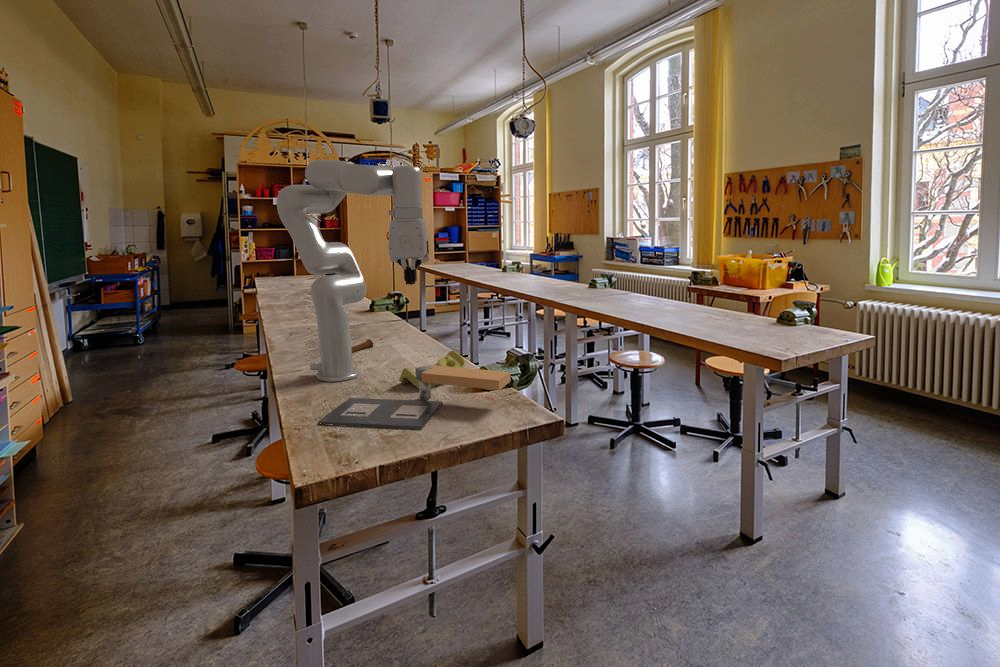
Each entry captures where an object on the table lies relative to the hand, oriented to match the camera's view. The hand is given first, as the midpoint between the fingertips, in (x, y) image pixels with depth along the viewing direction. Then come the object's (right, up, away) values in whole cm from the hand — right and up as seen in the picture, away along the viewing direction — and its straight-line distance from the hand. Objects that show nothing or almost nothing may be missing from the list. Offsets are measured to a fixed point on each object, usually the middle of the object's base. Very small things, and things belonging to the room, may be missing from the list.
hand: (410, 283), depth 155 cm
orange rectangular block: (+14, -26, -4) cm, 30 cm away
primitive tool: (-30, -21, +56) cm, 67 cm away
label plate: (-5, -33, -8) cm, 34 cm away
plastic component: (+5, -28, +18) cm, 34 cm away
